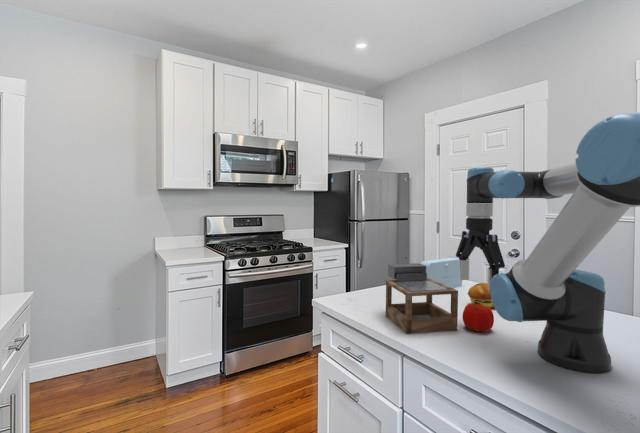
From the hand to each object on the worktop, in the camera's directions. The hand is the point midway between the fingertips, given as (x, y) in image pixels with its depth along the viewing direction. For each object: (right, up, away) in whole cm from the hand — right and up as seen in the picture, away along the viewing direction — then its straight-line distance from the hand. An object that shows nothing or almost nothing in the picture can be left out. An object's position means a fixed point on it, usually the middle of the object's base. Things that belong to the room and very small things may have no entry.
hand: (477, 284), depth 108 cm
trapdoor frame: (-16, -14, +6) cm, 22 cm away
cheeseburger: (+14, -14, +25) cm, 31 cm away
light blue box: (+7, -12, +52) cm, 54 cm away
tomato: (0, -14, +1) cm, 14 cm away
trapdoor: (-17, -2, +9) cm, 19 cm away
